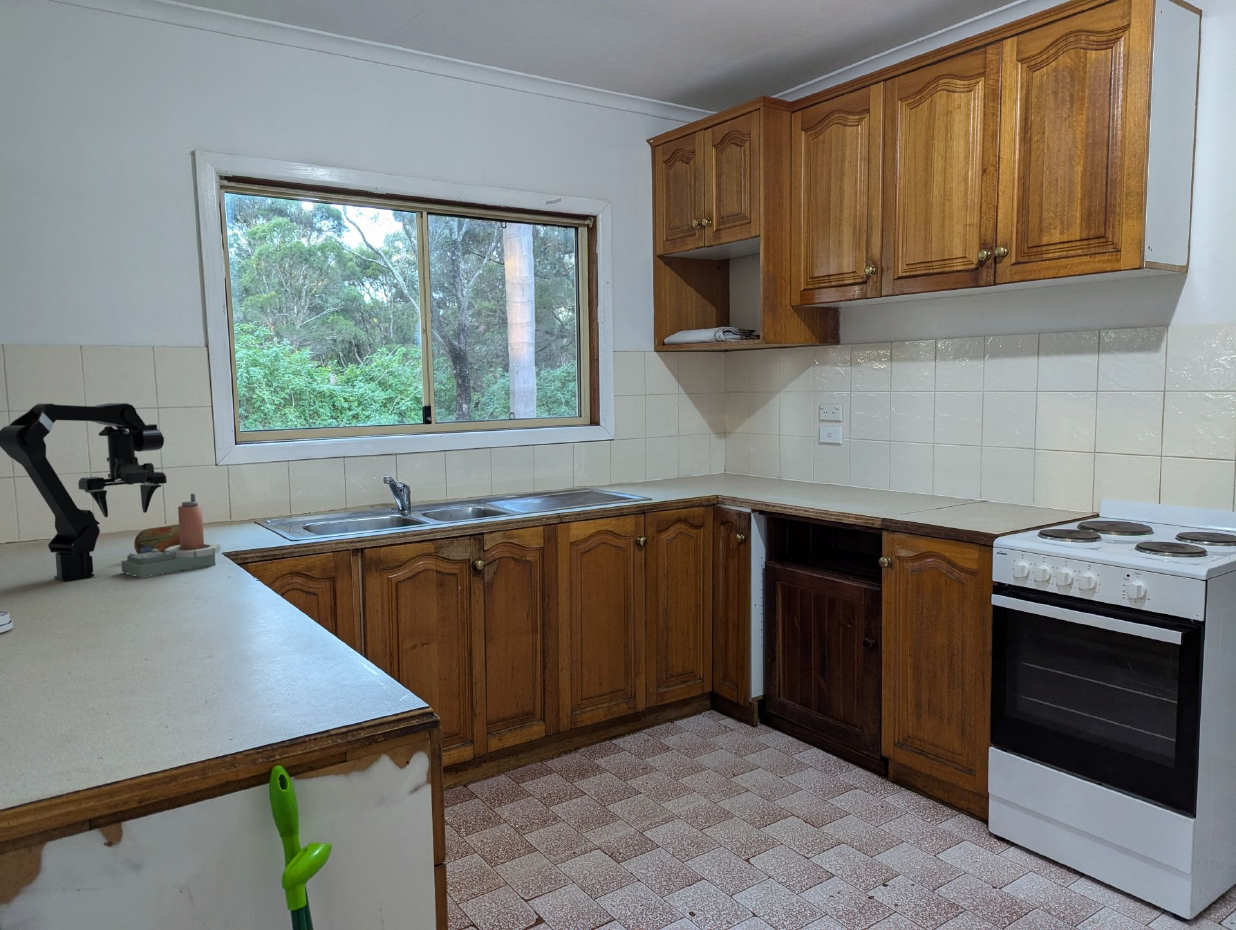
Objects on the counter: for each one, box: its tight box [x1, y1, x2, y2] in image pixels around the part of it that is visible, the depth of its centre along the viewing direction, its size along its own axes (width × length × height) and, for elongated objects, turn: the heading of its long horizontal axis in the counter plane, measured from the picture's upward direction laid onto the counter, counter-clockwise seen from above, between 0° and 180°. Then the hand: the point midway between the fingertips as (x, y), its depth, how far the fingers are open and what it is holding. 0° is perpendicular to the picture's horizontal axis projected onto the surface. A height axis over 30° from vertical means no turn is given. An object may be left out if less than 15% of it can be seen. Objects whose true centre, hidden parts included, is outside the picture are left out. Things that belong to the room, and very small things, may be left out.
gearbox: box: [120, 542, 221, 578], centre depth 213 cm, size 21×12×5 cm, turn 143°
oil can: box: [177, 493, 205, 550], centre depth 216 cm, size 5×5×15 cm
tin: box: [133, 523, 180, 554], centre depth 227 cm, size 15×3×8 cm, turn 143°
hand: (125, 514), depth 215 cm, fingers open, 9 cm apart
